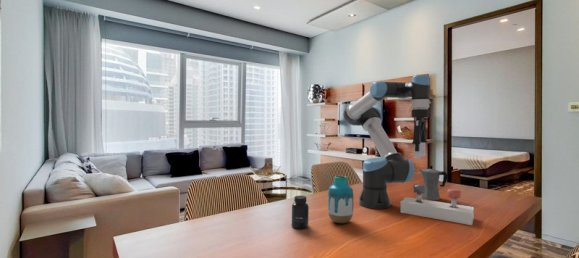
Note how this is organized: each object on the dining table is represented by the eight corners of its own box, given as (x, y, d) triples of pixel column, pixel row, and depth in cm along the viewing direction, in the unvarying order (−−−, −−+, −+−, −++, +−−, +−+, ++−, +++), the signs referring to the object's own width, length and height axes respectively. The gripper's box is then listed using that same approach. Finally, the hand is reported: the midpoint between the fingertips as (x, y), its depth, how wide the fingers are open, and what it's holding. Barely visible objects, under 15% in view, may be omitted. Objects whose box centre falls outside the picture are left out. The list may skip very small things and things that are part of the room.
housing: (400, 212, 131) (400, 201, 131) (405, 207, 139) (406, 196, 139) (472, 225, 114) (472, 213, 114) (473, 218, 123) (473, 207, 122)
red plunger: (446, 208, 122) (446, 190, 122) (448, 205, 126) (448, 188, 126) (460, 210, 119) (460, 191, 119) (461, 207, 123) (461, 189, 123)
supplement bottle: (296, 230, 109) (296, 200, 108) (288, 225, 115) (288, 195, 115) (311, 227, 112) (311, 197, 112) (303, 222, 118) (303, 193, 118)
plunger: (412, 203, 130) (412, 185, 130) (414, 200, 134) (414, 183, 134) (423, 204, 127) (424, 187, 127) (426, 202, 131) (426, 185, 131)
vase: (337, 216, 126) (337, 173, 125) (358, 222, 118) (358, 176, 118) (322, 222, 118) (322, 176, 118) (343, 228, 111) (343, 180, 110)
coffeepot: (414, 196, 158) (415, 164, 157) (423, 194, 163) (423, 163, 163) (443, 203, 145) (443, 168, 145) (451, 200, 151) (452, 166, 151)
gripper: (424, 107, 118) (423, 160, 119) (433, 109, 136) (432, 155, 137) (405, 108, 123) (405, 159, 123) (416, 110, 141) (416, 154, 141)
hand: (419, 157), depth 130 cm, fingers open, 10 cm apart
